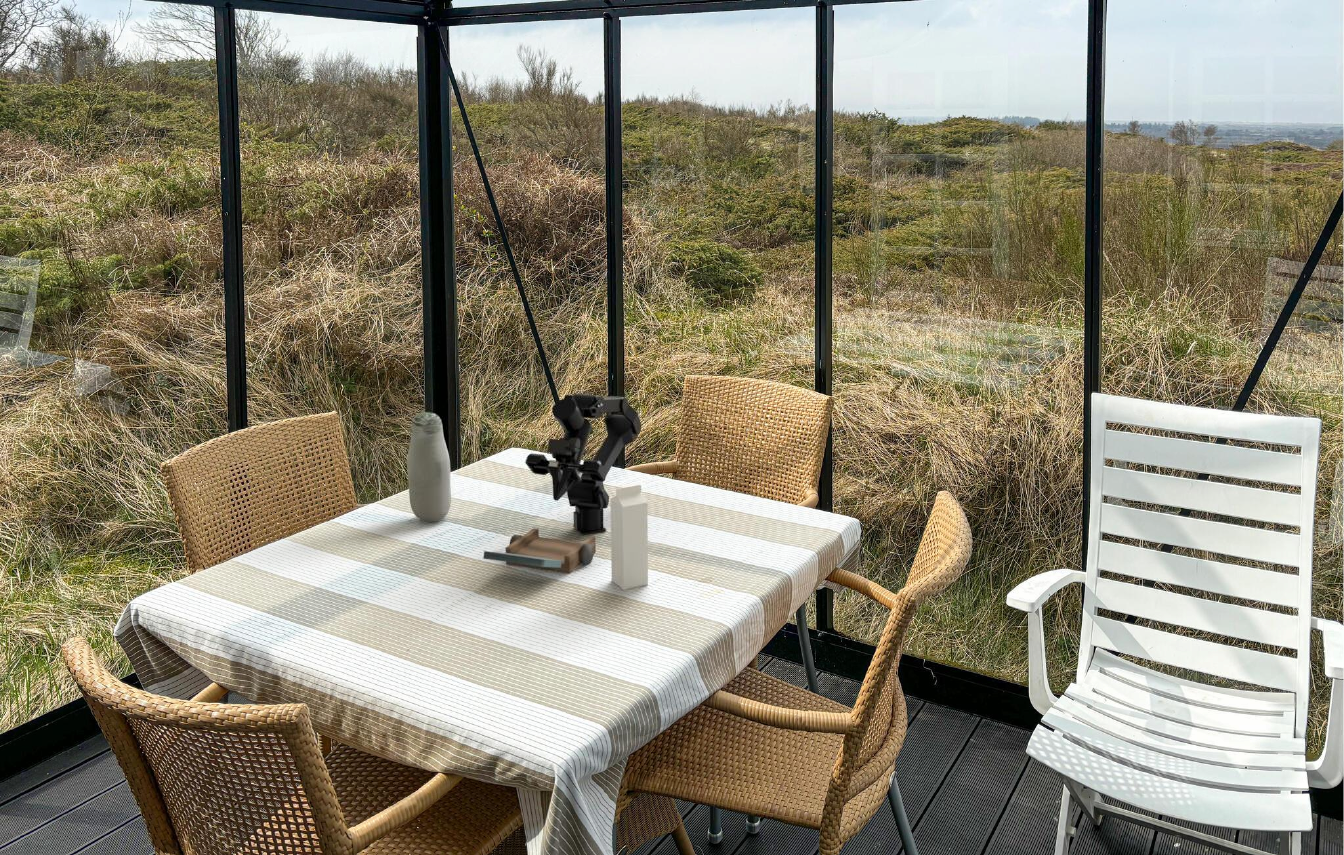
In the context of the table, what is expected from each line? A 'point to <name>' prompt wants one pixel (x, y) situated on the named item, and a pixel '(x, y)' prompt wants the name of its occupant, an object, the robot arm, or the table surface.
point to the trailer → (552, 550)
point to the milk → (629, 538)
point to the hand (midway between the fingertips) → (555, 499)
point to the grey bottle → (428, 469)
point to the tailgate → (522, 559)
